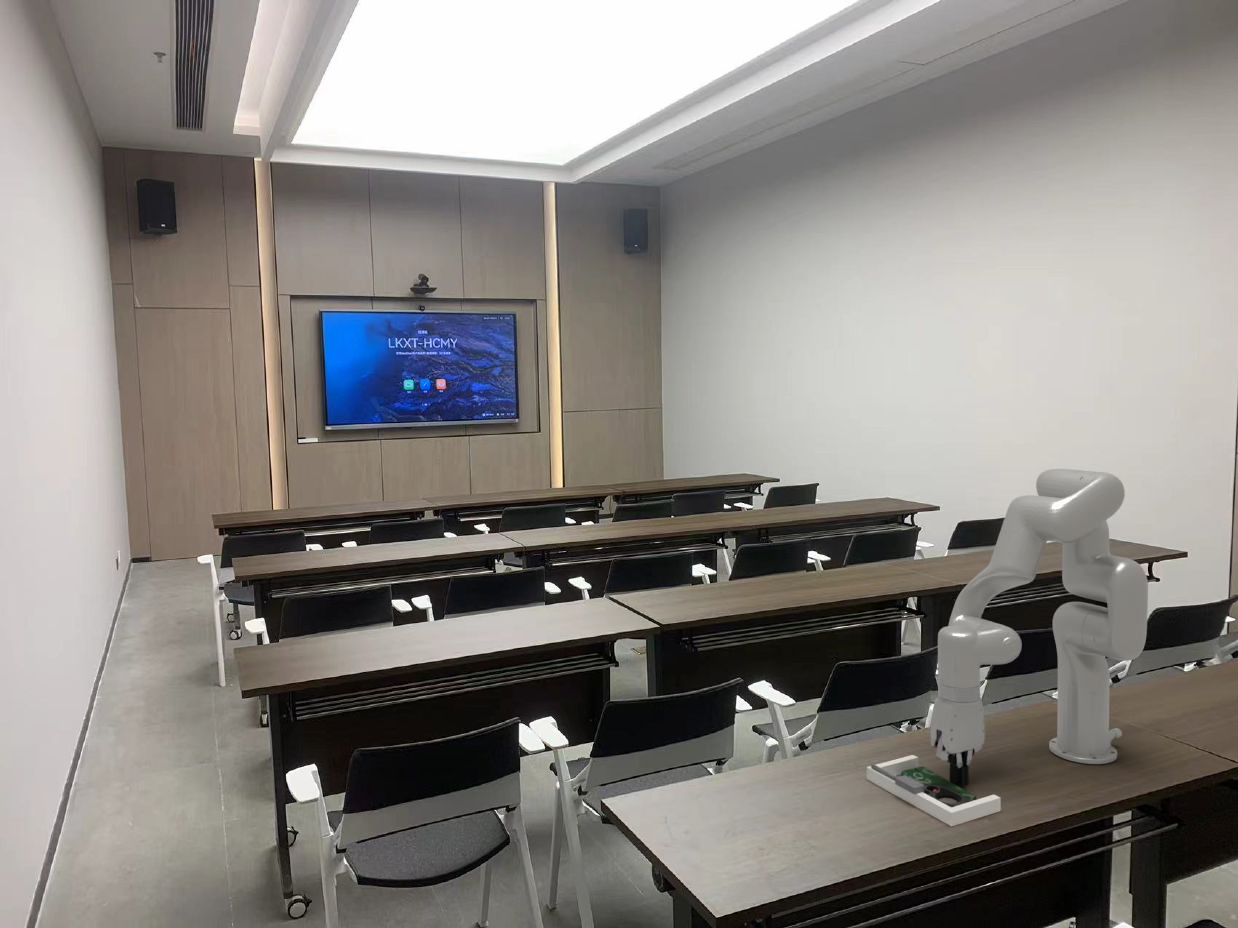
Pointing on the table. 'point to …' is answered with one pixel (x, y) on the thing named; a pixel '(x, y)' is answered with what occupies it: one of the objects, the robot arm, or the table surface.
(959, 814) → the white angled bar
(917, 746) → the table surface
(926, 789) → the gun
